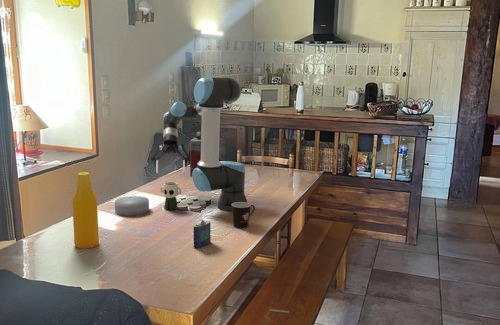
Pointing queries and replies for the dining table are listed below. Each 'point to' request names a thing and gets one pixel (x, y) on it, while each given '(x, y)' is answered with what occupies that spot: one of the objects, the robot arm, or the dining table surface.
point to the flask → (202, 234)
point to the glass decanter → (195, 152)
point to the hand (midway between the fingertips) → (170, 172)
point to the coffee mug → (241, 214)
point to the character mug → (170, 194)
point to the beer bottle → (85, 214)
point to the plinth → (131, 206)
